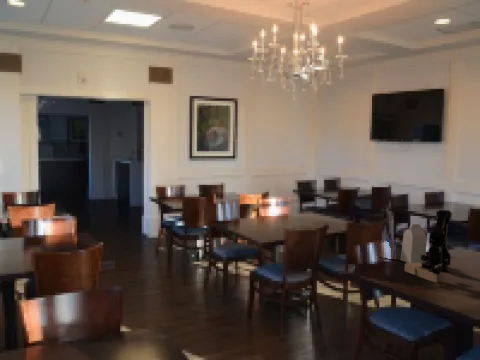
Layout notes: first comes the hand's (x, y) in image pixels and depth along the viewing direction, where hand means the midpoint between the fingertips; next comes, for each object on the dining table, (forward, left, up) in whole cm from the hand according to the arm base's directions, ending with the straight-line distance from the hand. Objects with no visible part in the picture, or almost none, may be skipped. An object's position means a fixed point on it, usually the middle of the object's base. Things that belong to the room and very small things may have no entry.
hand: (435, 278), depth 270 cm
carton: (-1, -17, -2) cm, 17 cm away
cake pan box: (-36, -64, -2) cm, 73 cm away
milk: (-17, -41, -2) cm, 44 cm away
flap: (+3, -4, -2) cm, 5 cm away
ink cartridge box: (-5, -53, -2) cm, 53 cm away
